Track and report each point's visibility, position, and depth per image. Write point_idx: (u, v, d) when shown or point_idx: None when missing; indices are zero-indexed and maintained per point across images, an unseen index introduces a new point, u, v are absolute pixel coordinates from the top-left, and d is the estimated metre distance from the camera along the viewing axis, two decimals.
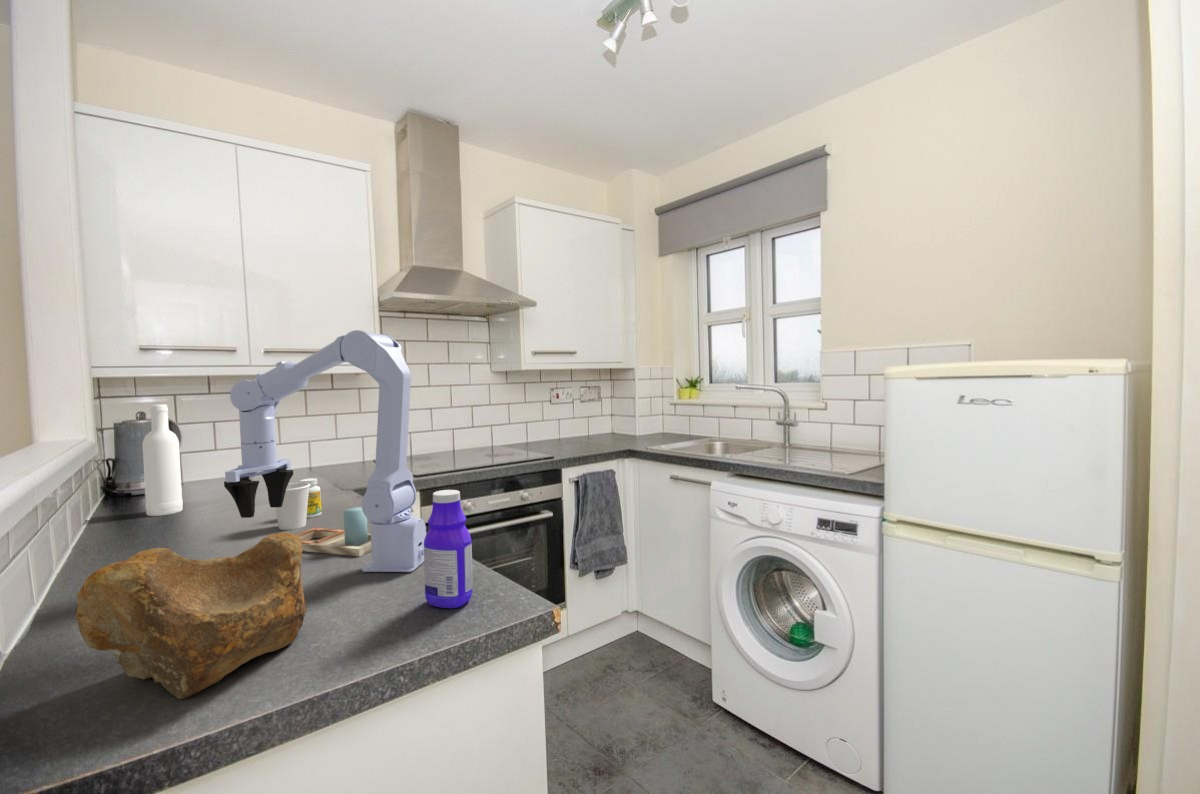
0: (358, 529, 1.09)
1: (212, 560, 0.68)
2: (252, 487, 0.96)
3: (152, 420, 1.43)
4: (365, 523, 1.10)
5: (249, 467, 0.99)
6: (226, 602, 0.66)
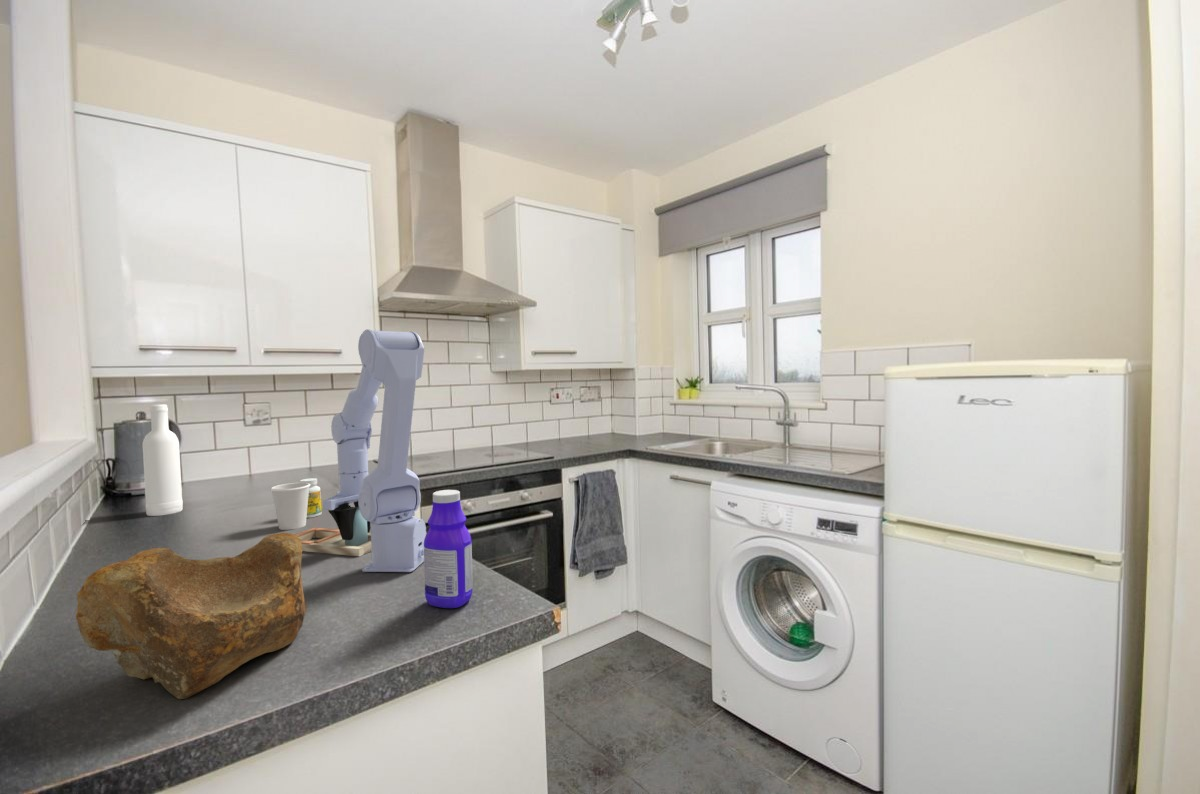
0: (358, 529, 1.09)
1: (212, 560, 0.68)
2: (350, 513, 1.06)
3: (152, 420, 1.43)
4: (365, 523, 1.10)
5: (344, 495, 1.07)
6: (226, 602, 0.66)
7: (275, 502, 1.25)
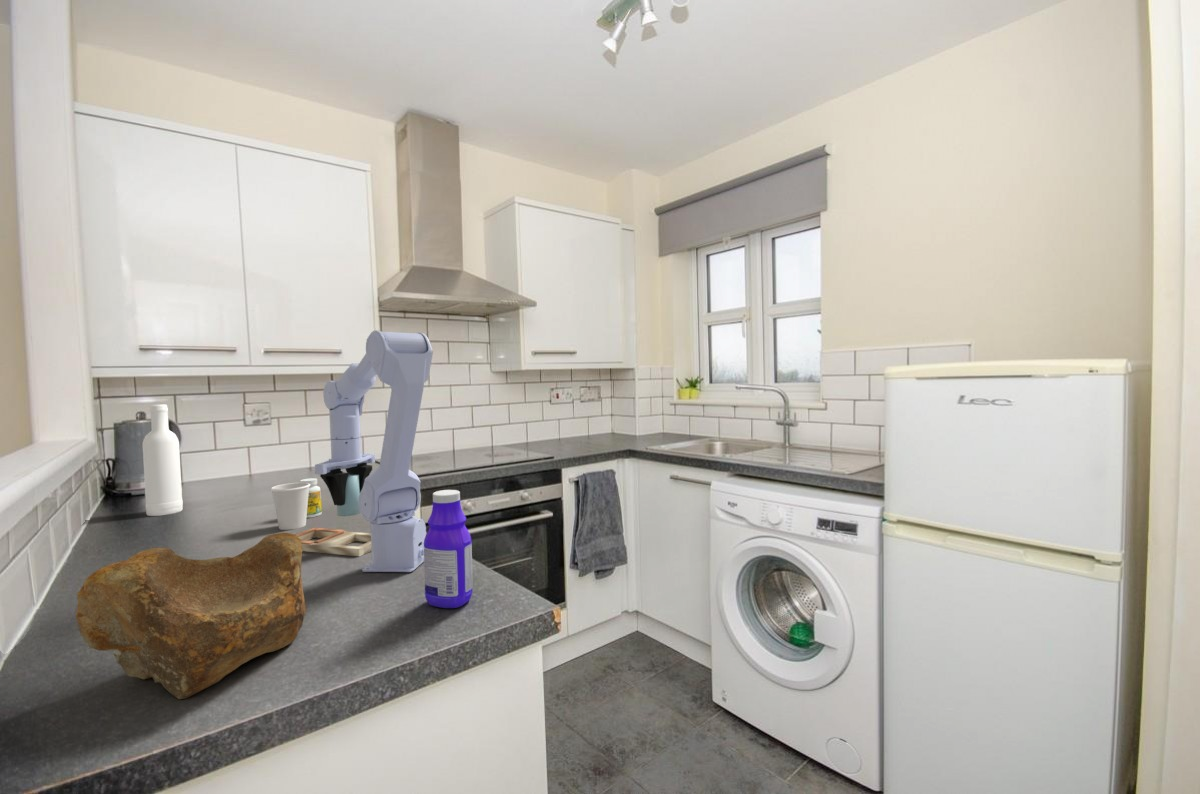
0: (350, 494, 1.09)
1: (212, 560, 0.68)
2: (342, 478, 1.06)
3: (152, 420, 1.43)
4: (357, 489, 1.11)
5: (336, 461, 1.08)
6: (226, 602, 0.66)
7: (275, 502, 1.25)
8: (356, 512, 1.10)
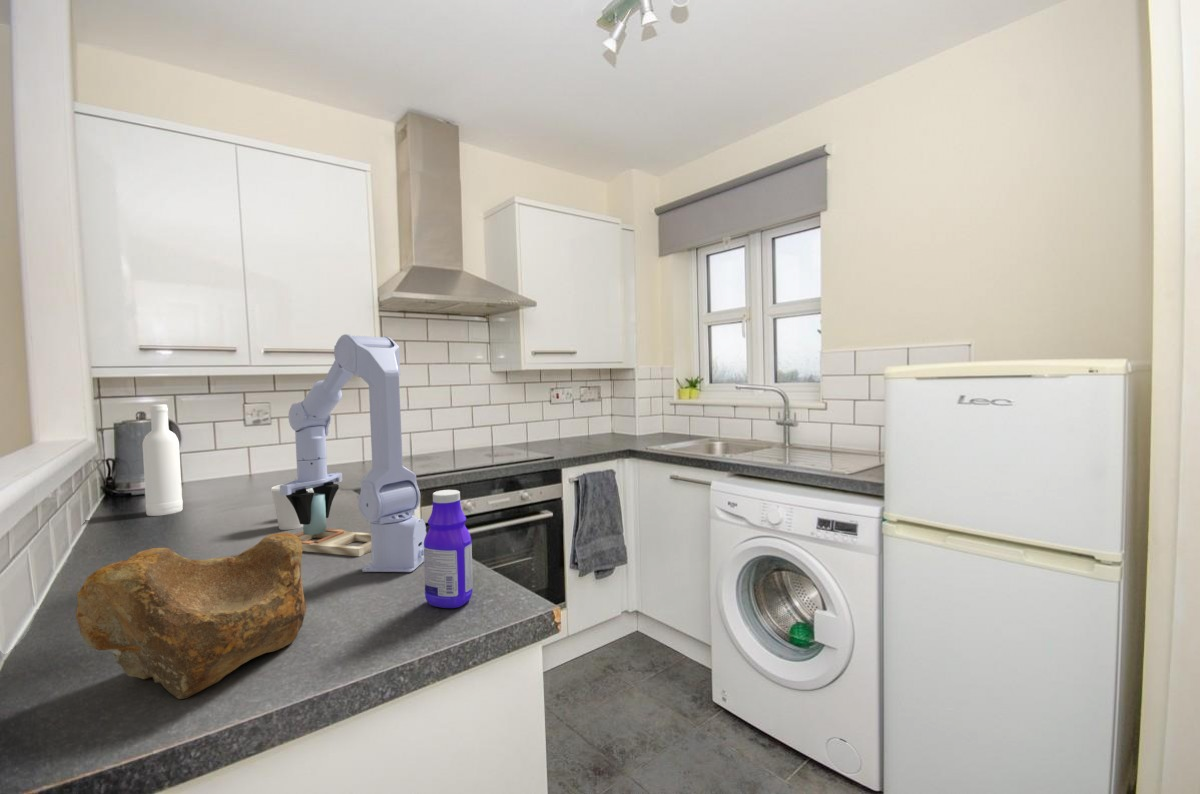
0: (316, 514, 1.12)
1: (212, 560, 0.68)
2: (307, 498, 1.09)
3: (152, 420, 1.43)
4: (323, 508, 1.13)
5: (302, 481, 1.11)
6: (226, 602, 0.66)
7: (275, 502, 1.25)
8: (322, 530, 1.13)
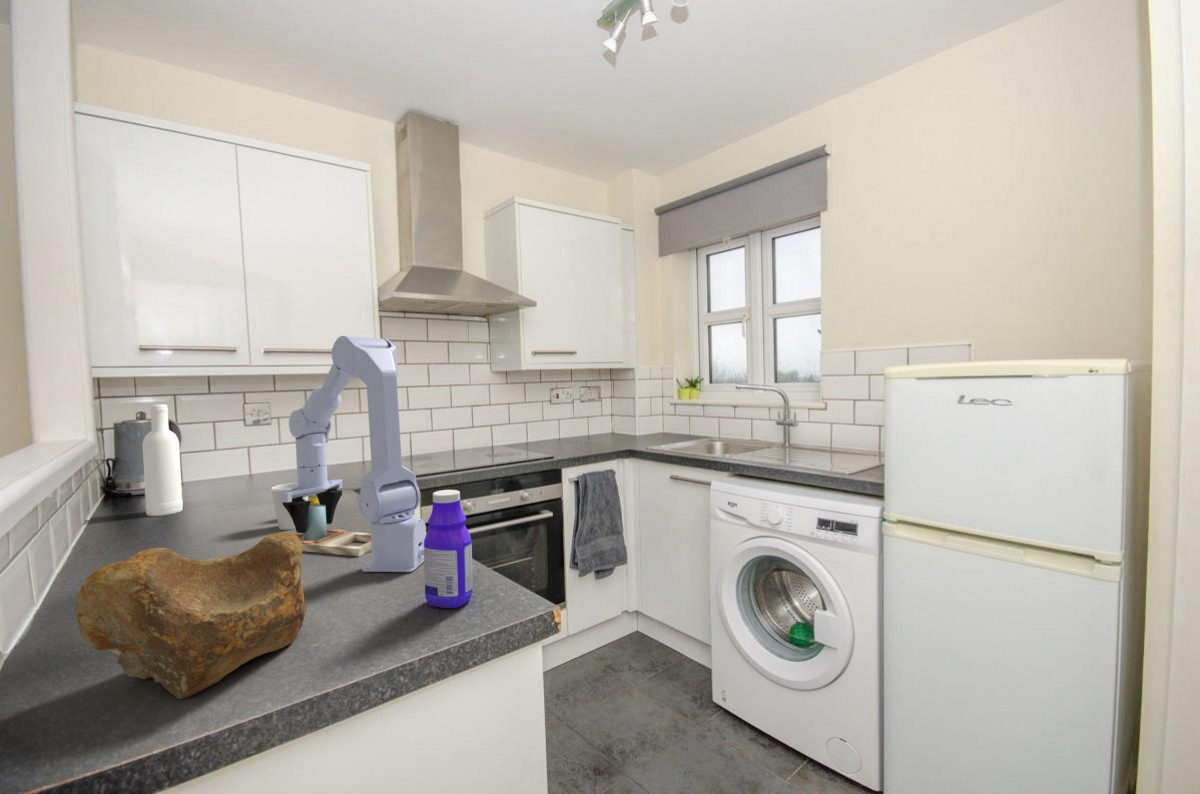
0: (316, 525, 1.12)
1: (212, 560, 0.68)
2: (304, 506, 1.08)
3: (152, 420, 1.43)
4: (324, 520, 1.14)
5: (302, 488, 1.11)
6: (226, 602, 0.66)
7: (275, 502, 1.25)
8: None
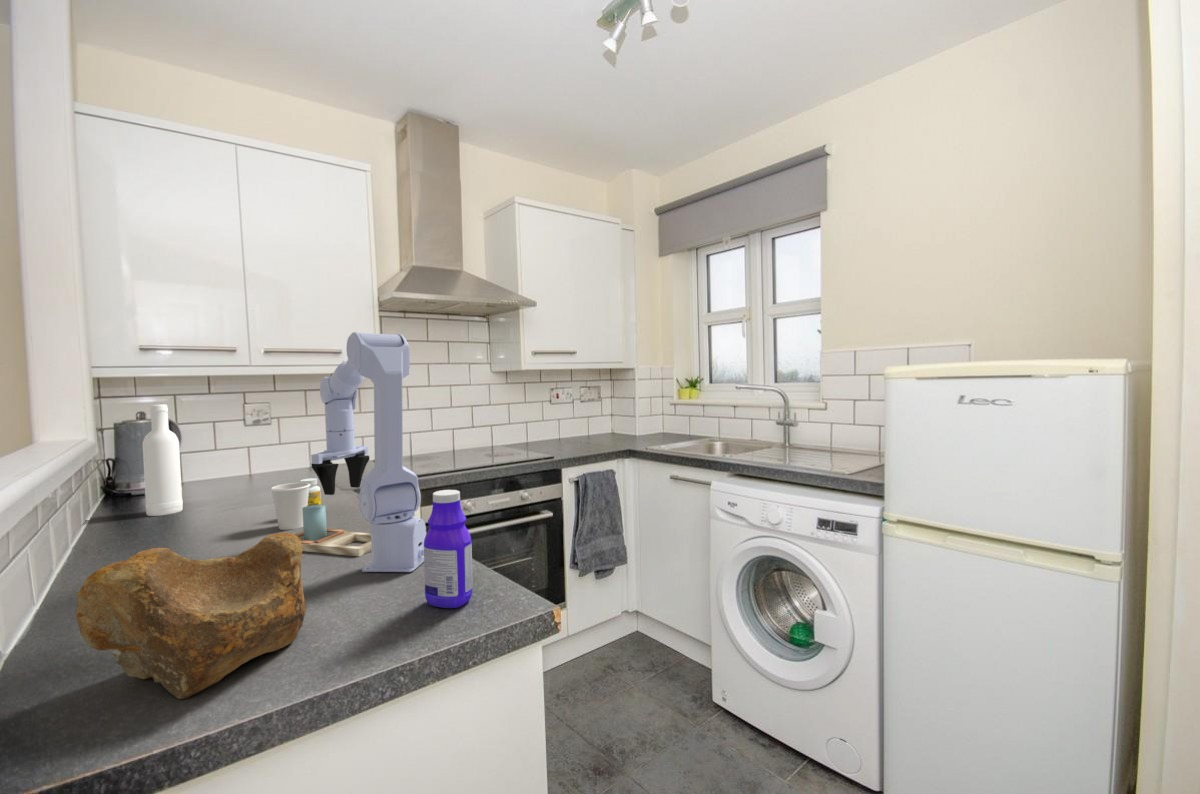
0: (316, 525, 1.12)
1: (212, 560, 0.68)
2: (332, 469, 1.13)
3: (152, 420, 1.43)
4: (324, 520, 1.14)
5: (331, 452, 1.15)
6: (226, 602, 0.66)
7: (275, 502, 1.25)
8: None
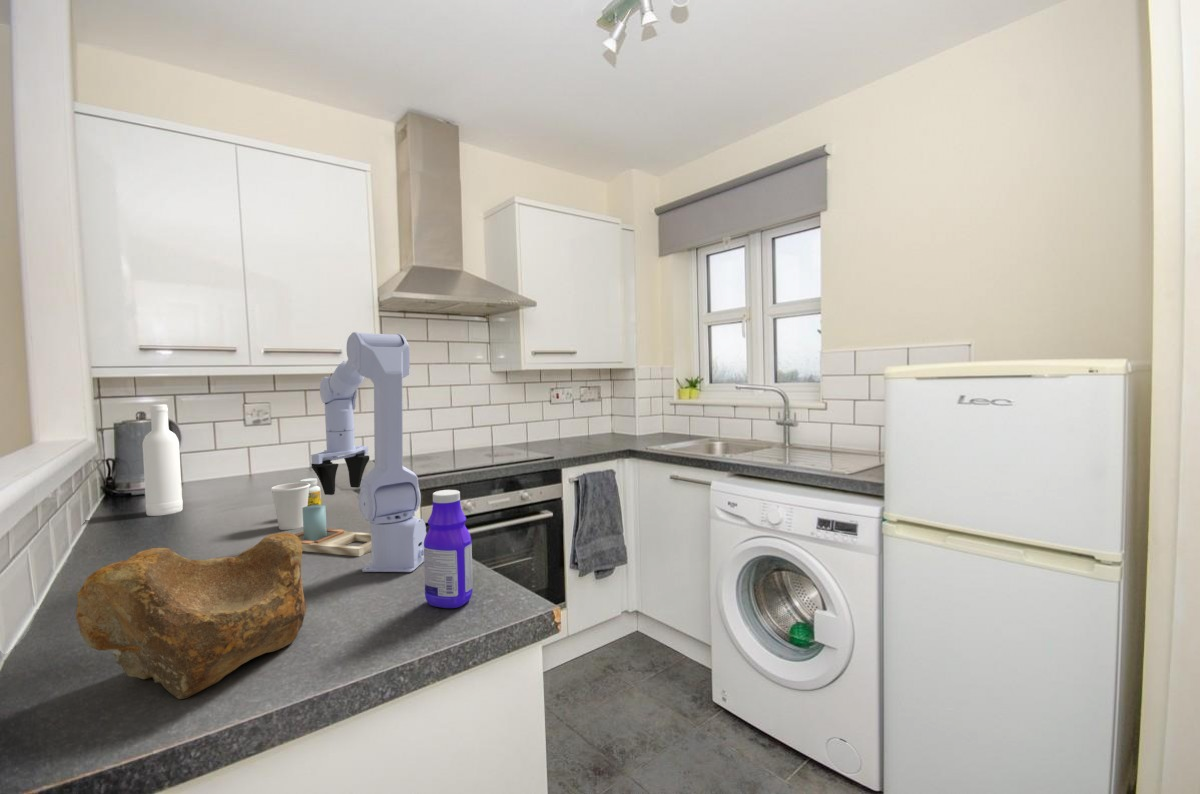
0: (316, 525, 1.12)
1: (212, 560, 0.68)
2: (332, 469, 1.13)
3: (152, 420, 1.43)
4: (324, 520, 1.14)
5: (331, 452, 1.15)
6: (226, 602, 0.66)
7: (275, 502, 1.25)
8: None
